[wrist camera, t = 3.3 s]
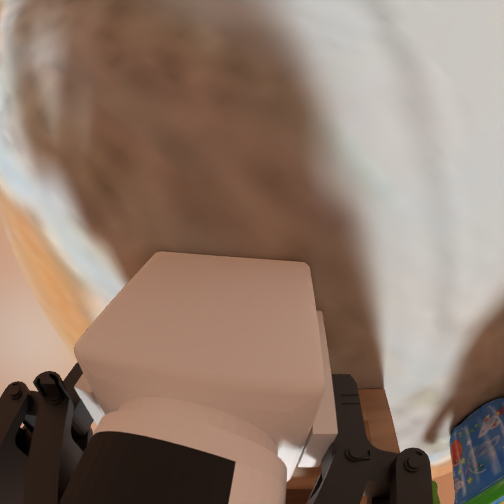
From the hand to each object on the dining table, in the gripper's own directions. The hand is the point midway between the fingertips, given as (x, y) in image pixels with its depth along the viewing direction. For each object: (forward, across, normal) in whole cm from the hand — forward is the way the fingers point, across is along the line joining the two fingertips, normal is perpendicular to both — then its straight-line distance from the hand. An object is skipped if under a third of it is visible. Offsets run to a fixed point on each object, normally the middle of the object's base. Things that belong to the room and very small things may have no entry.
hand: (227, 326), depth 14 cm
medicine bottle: (+1, 0, 0) cm, 1 cm away
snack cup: (+1, +24, -12) cm, 27 cm away
